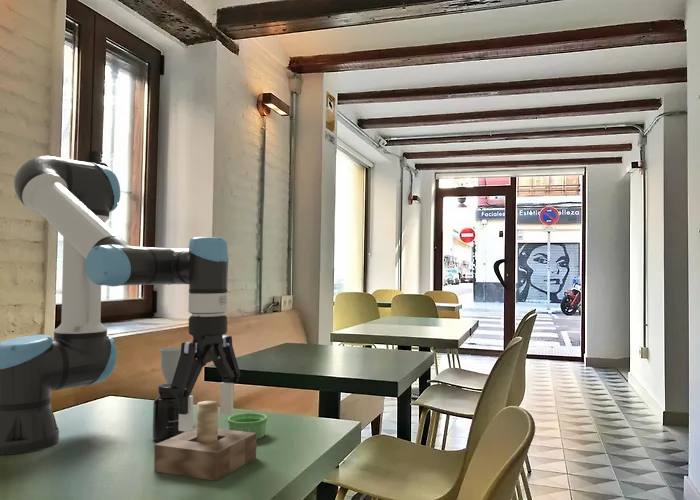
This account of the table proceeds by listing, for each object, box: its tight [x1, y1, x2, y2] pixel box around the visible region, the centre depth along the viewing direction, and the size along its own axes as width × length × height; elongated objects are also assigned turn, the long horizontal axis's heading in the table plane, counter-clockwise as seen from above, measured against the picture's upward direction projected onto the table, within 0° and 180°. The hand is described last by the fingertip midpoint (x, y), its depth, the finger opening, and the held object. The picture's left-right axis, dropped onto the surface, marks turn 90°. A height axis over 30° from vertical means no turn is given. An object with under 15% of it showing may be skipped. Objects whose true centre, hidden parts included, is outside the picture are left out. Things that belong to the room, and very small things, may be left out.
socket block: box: [153, 426, 257, 482], centre depth 115 cm, size 14×14×5 cm
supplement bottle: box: [152, 383, 185, 442], centre depth 133 cm, size 7×7×12 cm
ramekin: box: [227, 412, 268, 441], centre depth 134 cm, size 9×9×4 cm
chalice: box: [159, 346, 181, 384], centre depth 150 cm, size 7×7×18 cm
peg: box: [196, 400, 219, 444], centre depth 115 cm, size 4×4×12 cm
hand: (207, 422), depth 115 cm, fingers open, 13 cm apart
